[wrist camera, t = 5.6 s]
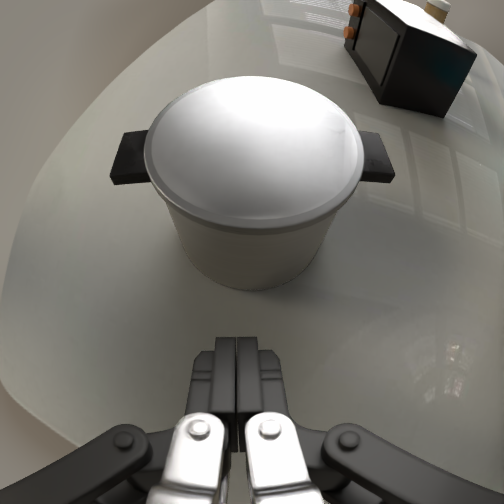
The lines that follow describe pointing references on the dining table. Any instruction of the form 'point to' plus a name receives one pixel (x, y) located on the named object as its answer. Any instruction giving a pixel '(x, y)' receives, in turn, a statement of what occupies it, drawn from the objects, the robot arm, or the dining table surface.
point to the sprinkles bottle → (437, 9)
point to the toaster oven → (407, 55)
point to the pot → (252, 174)
